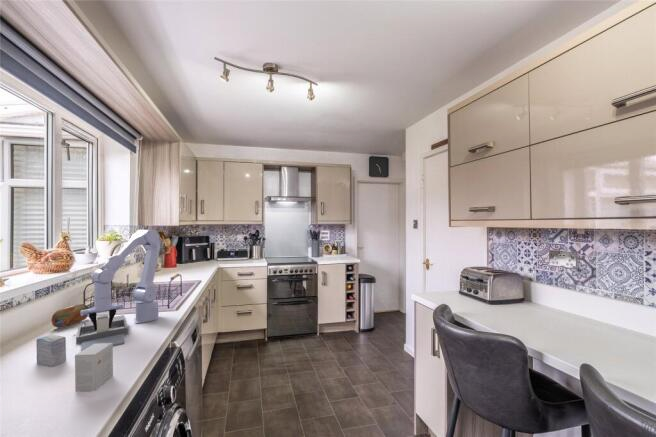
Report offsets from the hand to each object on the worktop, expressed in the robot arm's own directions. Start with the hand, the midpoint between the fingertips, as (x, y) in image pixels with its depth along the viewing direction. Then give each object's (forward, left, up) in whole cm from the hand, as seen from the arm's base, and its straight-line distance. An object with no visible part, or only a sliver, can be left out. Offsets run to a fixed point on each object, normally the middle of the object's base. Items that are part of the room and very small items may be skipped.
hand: (103, 328), depth 126 cm
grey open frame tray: (0, -7, -2) cm, 7 cm away
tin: (+12, -24, -2) cm, 27 cm away
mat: (0, +14, -2) cm, 14 cm away
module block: (0, 0, -2) cm, 2 cm away
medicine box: (+14, +22, -2) cm, 26 cm away
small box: (+2, +48, -2) cm, 48 cm away
